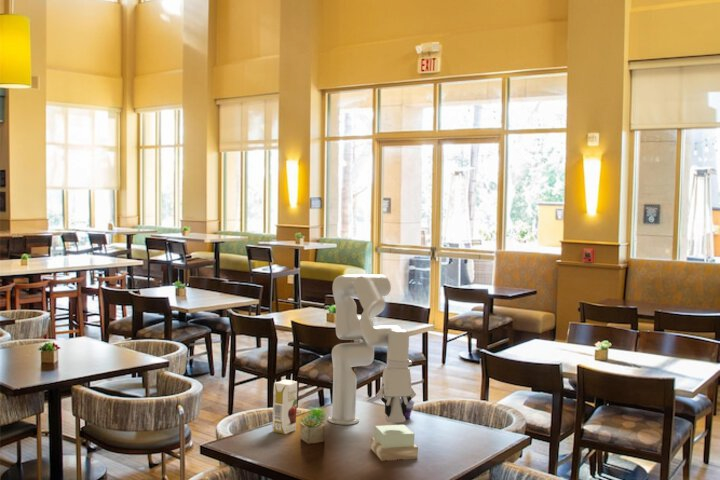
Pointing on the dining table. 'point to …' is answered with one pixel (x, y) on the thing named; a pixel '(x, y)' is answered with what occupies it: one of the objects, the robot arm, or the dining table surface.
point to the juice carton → (284, 406)
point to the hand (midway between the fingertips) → (395, 414)
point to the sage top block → (394, 436)
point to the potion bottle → (408, 408)
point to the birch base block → (393, 451)
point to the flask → (396, 411)
